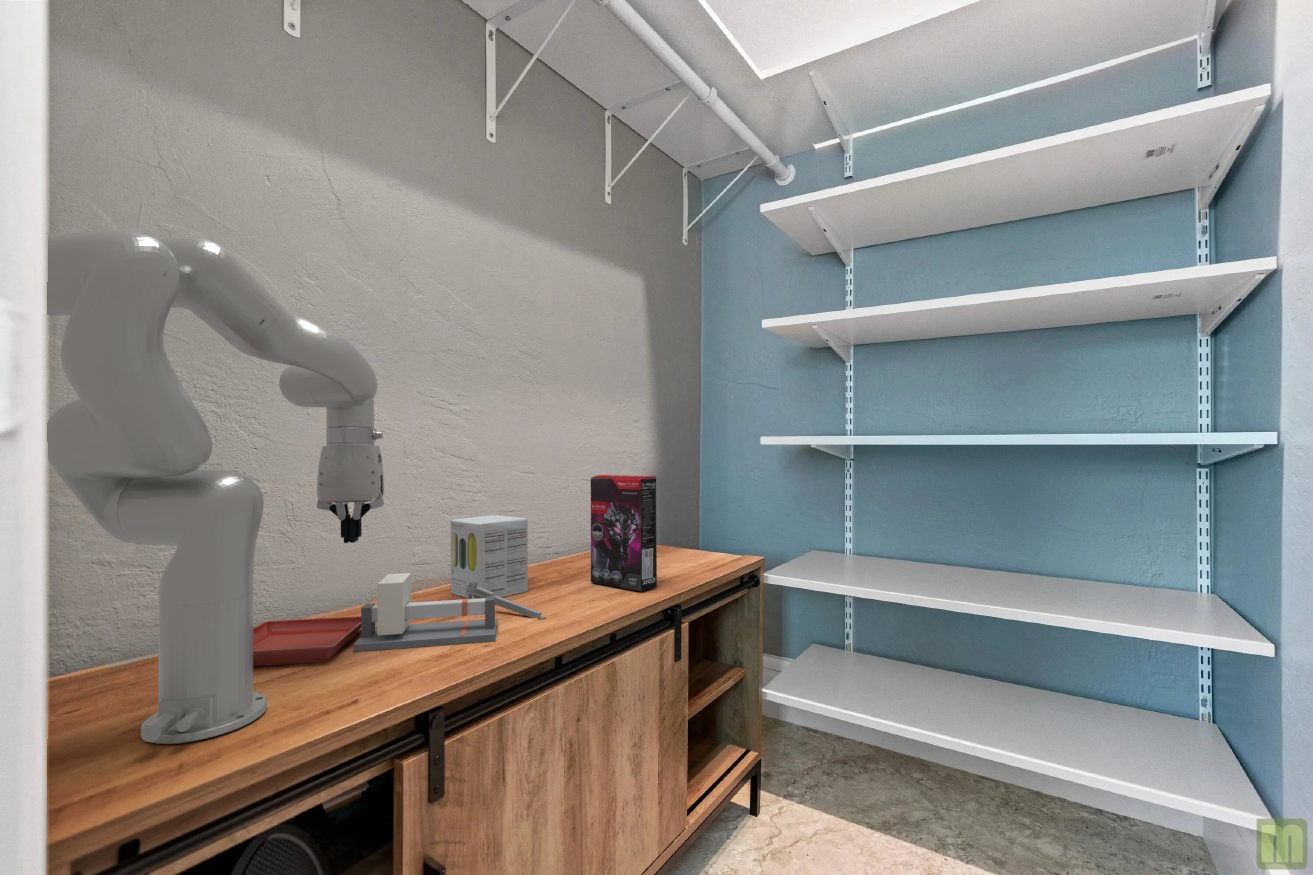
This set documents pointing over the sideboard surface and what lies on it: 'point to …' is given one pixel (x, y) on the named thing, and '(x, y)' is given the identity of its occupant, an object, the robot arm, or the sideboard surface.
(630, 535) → the graphics card box
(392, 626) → the white sliding block
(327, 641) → the plant saucer
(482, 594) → the caliper
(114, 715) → the sideboard surface
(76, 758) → the sideboard surface
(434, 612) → the gray slide rail base
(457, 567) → the supplement box
